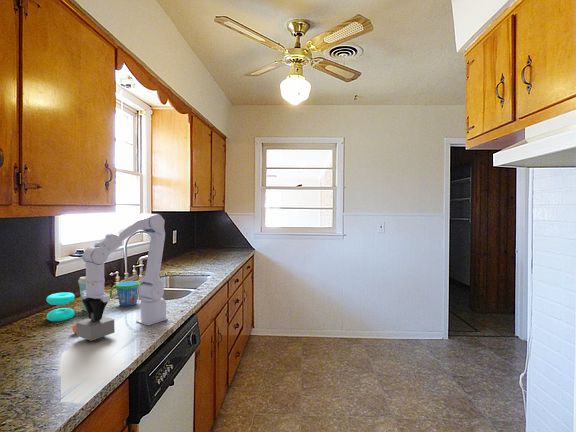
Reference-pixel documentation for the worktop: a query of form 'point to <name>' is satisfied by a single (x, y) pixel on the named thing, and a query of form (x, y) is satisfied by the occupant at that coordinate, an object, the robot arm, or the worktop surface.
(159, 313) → the robot arm
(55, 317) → the donuts
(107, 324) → the grey block
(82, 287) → the disposable coffee cup
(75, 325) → the ball
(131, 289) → the snack cup
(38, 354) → the worktop surface
